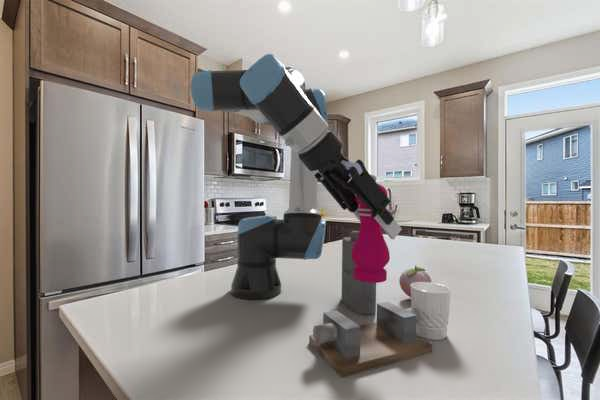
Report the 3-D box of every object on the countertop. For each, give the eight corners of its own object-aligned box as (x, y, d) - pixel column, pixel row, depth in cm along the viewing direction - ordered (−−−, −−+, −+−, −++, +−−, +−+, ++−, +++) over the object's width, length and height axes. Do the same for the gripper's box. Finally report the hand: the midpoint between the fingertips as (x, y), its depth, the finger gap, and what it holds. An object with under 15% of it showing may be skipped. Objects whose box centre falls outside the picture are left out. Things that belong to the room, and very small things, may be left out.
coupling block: (302, 344, 57) (302, 311, 57) (393, 325, 67) (394, 296, 67) (333, 379, 46) (334, 338, 46) (437, 350, 56) (438, 316, 56)
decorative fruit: (405, 292, 90) (406, 260, 90) (433, 298, 85) (434, 264, 85) (394, 300, 83) (394, 265, 83) (424, 307, 78) (424, 270, 78)
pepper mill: (385, 274, 59) (387, 176, 59) (393, 284, 52) (395, 173, 52) (349, 272, 60) (351, 175, 60) (352, 282, 53) (354, 172, 53)
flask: (336, 296, 86) (337, 228, 86) (355, 295, 87) (355, 228, 87) (357, 316, 71) (358, 235, 71) (379, 314, 72) (380, 234, 72)
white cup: (447, 345, 58) (448, 295, 57) (406, 335, 62) (407, 288, 62) (451, 330, 64) (452, 285, 64) (413, 322, 68) (414, 279, 68)
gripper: (280, 161, 58) (348, 240, 65) (324, 147, 42) (410, 254, 48) (305, 137, 60) (368, 216, 67) (356, 114, 44) (433, 222, 50)
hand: (385, 232), depth 58 cm, fingers closed on pepper mill, 5 cm apart
